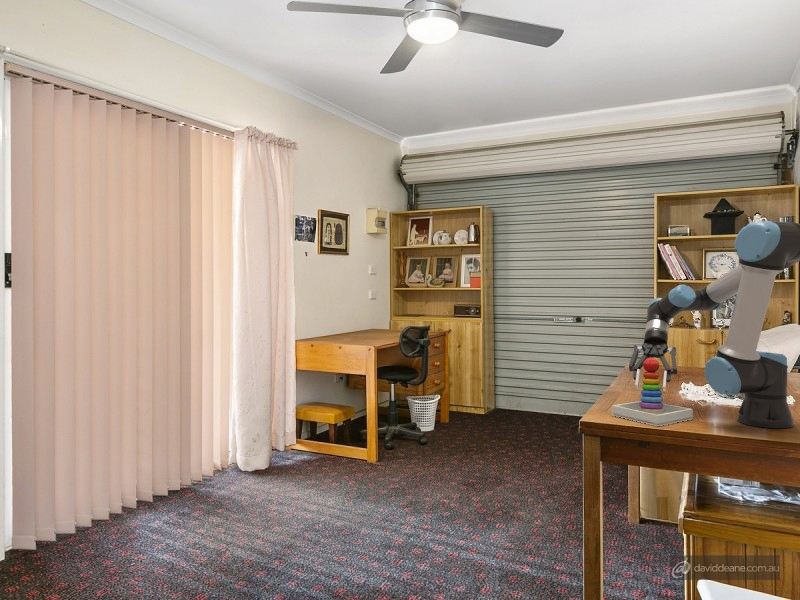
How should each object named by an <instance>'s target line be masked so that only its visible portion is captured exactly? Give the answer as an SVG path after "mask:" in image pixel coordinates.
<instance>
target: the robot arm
mask: <svg viewBox="0 0 800 600" xmlns="http://www.w3.org/2000/svg"><path fill="white" fill-rule="evenodd" d="M734 251H736V255H737V256H738V258H739V260H738V265H737V266H736V267H733V268H732V269H731V270H729V271H728V272H726V273H725V274H723V275H721V276H720V277H718V278H716V279H715V280H713V281H712V282H710V283H709V284H707V285H706V286H704V287H703V288H701V289H693V288H692V287H691V286H689V285H687V284H679V285H677V286H675V287H674V288H672V289H671V290H670V291H669V292H668V293H666V295H664V296H663V297H656V298H653V299H651V300H650V302H649V303H648V304H649V305H648V308H647V314H646V324H645V330H644V338H643V343H642V345H641V346H640V345H639V346H638V345H637V344H635V345H633V352H632V355H631V357H630V361H629V364H628V369H629V372H632V373H633V374H632V378H633V380H634V381H635V383H634V386H635V390H640V389H639V388H640V379H641V370H642V368H643V363H644V361H645V360H646V359H648V358H654V359H659V360H660V361H661V364H662V366H663V368H664V371H663V372H664V373H663V380H662V381H663V382H662V391H663V392H667V383H671V380H672V375H677V374H678V367H677V360H676V359H677V358H676V355H677V346H672V347H669V346H668V340H669V337H668V336H669V330H670V328H669V327H670V321H671V320H672V319H673V318H674V317H676V316H678V315H679V314H680V313H681V312H705V311H706V312H711V311H716V310H719V309H720V308H722V306H723V305H724V303H725V301H727V300H728V299H731V297H733V296H735V295H736V298H735V301H734V306H733V310H732V313H731V317H730V321H729V325H728V330H727V334H726V338H725V342H724V343H723V344H721V345H719V346H718V347H717V351H716V354H715V356H713V357H711V358H710V359H709V360H707V361H706V362H705V366H704V377H705V380H706V381H707V382H708V385H709V386H710V388H712V389H713V390H714V391H715V392H716V393H718V394H722V395H732V396H733V395H737V394H744V395H743V396H744V400H743V401H741V402H742V403H741V406H740V407H739V410H738V412H737V421H738V422H740V423H742V424H745V425H747V426H752V427H758V428H765V429H766V428H767V429H790V428H792V427H794V417H793V414H792V412H791V408H790V406H789V404H788V399H787V398H788V369H789V365H788V358H787V356H786V355H785V354H782V353H776V352H768V351H761V350H760V351H759V350H758V349H757V348H758V345H759V341H760V337H761V333H762V329H763V325H764V322H765V318H766V314H767V311H768V307H769V304H770V301H771V296H772V292H773V288H774V285H775V284H774V283H775V281H776V277H777V275H778V274H780V273H782V272H784V271H785V269H788V268H791V266H794V265H795V264H797V263H798V262H800V223H798V222H794V221H793V222H792V221H775V220H773V221H772V220H762V221H753V222H750V223H748V224H746V226H743V227H742V228H741V229H740V230H739V232H738V234H737V235H736V237H735V240H734ZM757 350H758V351H757ZM641 351H643V354H642V355H641V356H640V359H639V360H638V358H639V354H640V353H641ZM667 353H668V354H669V355H670V357H671V358H670V359H671V365H672V368H671V367H670V365H669V362H668V360H667V358H666V357H665V355H666V354H667Z"/></svg>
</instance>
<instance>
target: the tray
mask: <svg viewBox="0 0 800 600" xmlns="http://www.w3.org/2000/svg"><path fill="white" fill-rule="evenodd" d="M640 402H641V400H638V401H632V402H625V403H619V404H613V405H611V417H615V416H616V417H615V418H619V417H621V418H620V419H623V418H625V419H624V420H627V419H629V420H628V421H632V420H633V421H632V422H636V421H637V422H636V423H640V422H641V424H644V423H646V424H645V425H648V424H650V426H653V425H654V426H653V427H657V426H660V427H663V425H664V426H668V424H669V425H672V424H673V423H674V424H678V423H677V422H679V423H683V422H682V421H684V422H688V421H687V420H689V421H693V420H694V409H693V408H688V407H684V406H683V407H682V406H679V405H673V404H669V403H664V402H662V403H663V409H664V414H659V415H656V414H651V413H647V412H642V411H639V408H640V406H639V403H640ZM692 419H693V420H692ZM674 424H673V425H674Z"/></svg>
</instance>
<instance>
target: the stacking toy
mask: <svg viewBox="0 0 800 600" xmlns="http://www.w3.org/2000/svg"><path fill="white" fill-rule="evenodd" d="M642 368H643V369H644V371H645V372H643V375H642V376H643V378H642V381H641V382H642V383H643V384H641V389H642V390H641V391H640V394H641V396H640V398H639V399H640V401H641V402H640V403H639V406H640V408H639V411H642V412H647V413H651V414H656V415H659V414H664V409H663V403H664V402H663V401H664V398H663V397H662V395H663V392H662V390H661V389H662V386H661V385H660V382H661V380H660V379H659V378H660V373H659V372H658V370H659V368H660V363H659V361H658V359H657V358H655V357H653V358H648V359H646V360H645V361H644V363H643V366H642Z"/></svg>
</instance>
